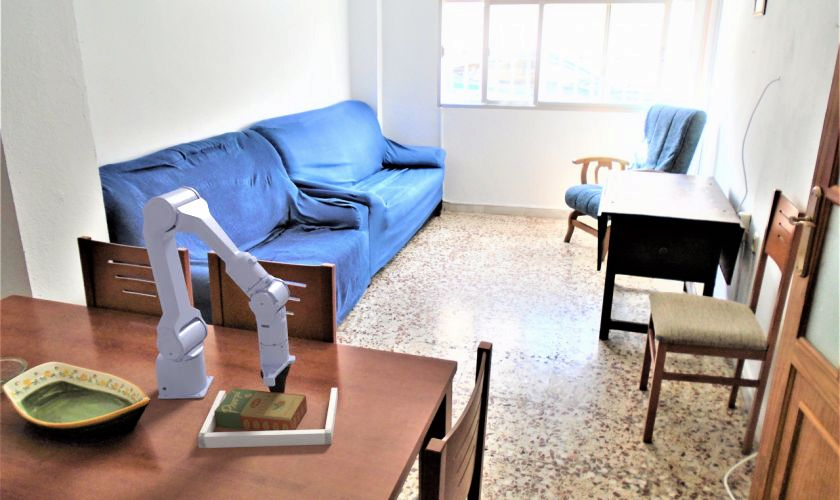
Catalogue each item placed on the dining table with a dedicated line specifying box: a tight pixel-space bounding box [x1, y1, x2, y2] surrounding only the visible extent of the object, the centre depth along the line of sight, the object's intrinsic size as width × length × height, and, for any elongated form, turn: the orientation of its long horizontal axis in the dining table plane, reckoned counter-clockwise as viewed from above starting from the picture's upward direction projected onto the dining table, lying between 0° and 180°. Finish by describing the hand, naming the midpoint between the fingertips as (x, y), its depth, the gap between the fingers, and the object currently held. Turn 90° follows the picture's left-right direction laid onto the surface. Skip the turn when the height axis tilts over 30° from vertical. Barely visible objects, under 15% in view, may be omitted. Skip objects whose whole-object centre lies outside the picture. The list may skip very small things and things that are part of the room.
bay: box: [197, 387, 339, 449], centre depth 116 cm, size 24×15×2 cm, turn 93°
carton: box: [214, 387, 308, 431], centre depth 117 cm, size 8×16×4 cm, turn 80°
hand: (278, 397), depth 122 cm, fingers closed
